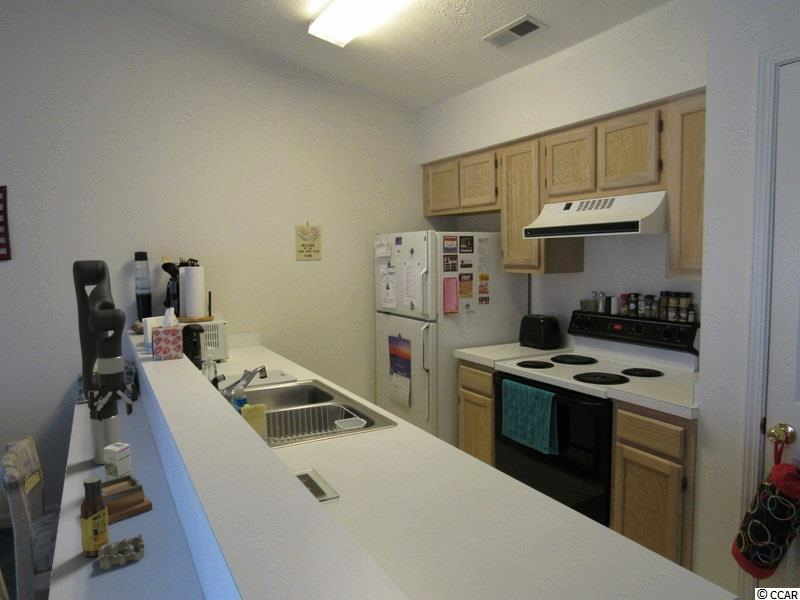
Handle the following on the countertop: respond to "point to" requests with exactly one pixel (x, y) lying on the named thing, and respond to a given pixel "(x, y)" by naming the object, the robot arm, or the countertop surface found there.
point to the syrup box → (117, 460)
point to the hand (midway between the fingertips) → (114, 417)
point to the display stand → (124, 498)
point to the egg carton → (110, 549)
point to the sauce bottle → (93, 518)
